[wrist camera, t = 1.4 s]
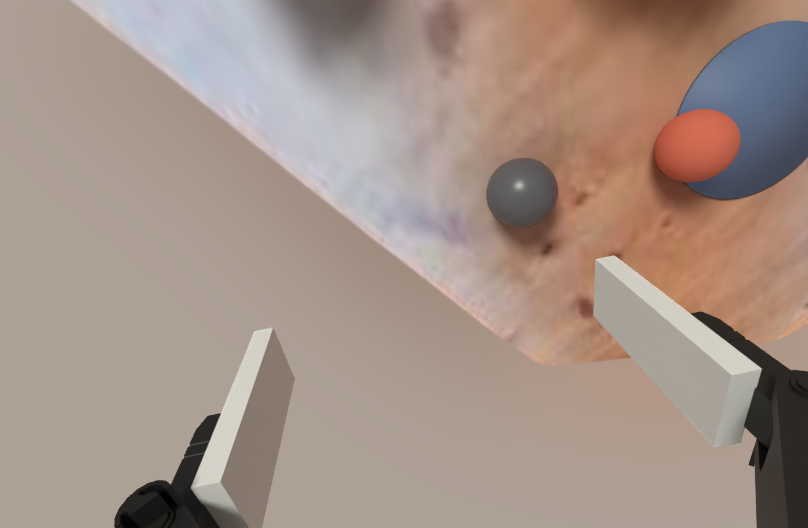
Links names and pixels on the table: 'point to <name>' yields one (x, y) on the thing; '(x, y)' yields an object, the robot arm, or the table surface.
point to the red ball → (697, 145)
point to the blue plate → (757, 106)
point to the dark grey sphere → (522, 192)
